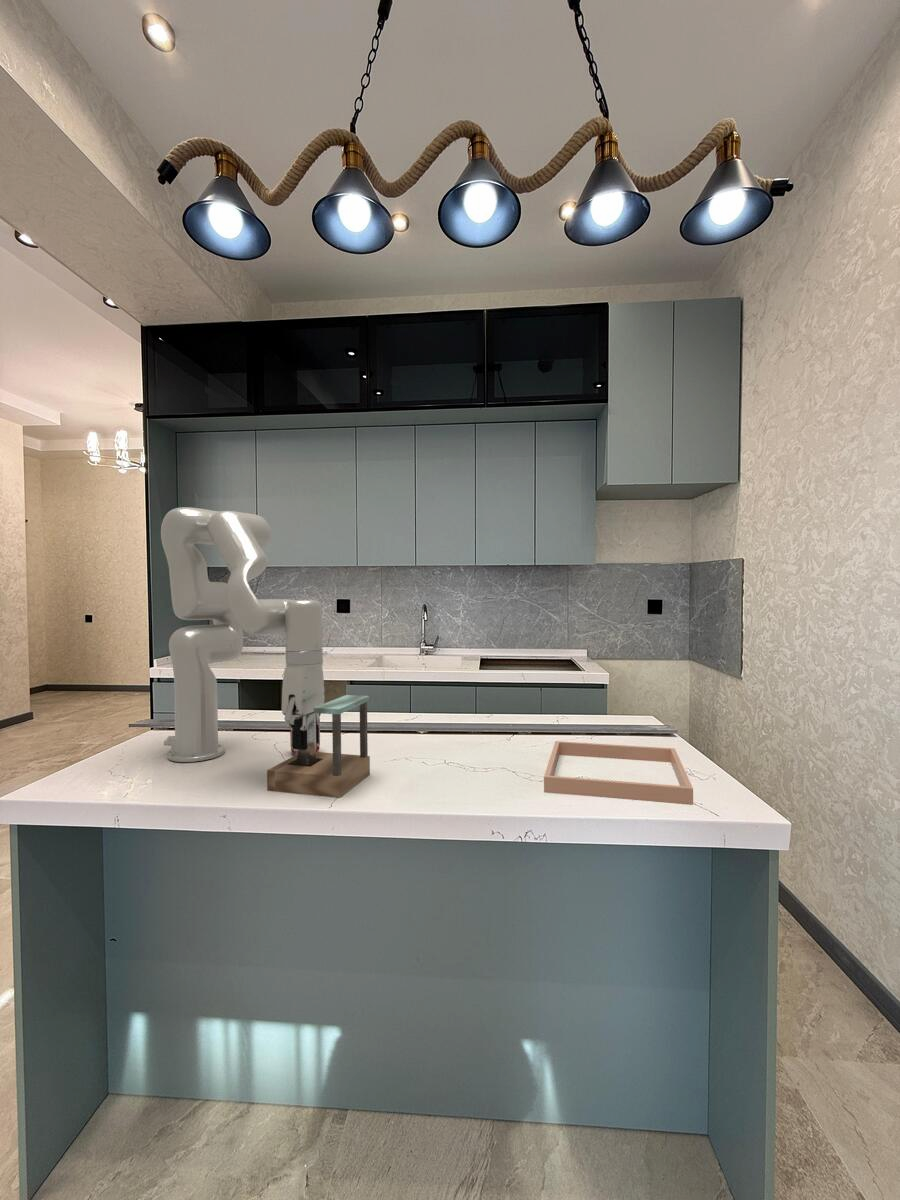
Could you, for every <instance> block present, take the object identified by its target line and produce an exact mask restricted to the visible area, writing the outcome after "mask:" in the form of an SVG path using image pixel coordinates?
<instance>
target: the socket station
mask: <svg viewBox="0 0 900 1200" xmlns="http://www.w3.org/2000/svg"><path fill="white" fill-rule="evenodd" d="M369 701H370V696H369V695H358V694H357V695H353V694H352V695H351V694H345V695H342V696H340V697H338V698H335V699H332V700H329V701H328V702H324V704H322V705H320V706H317V707H315V708H314V713H321V714H325V715H326V714H327V715H331V717H332V718H331V719H332V720H331V721H332V723H331V725H332V726H331V727H332V728H331V729H332V734H331V735H332V736H331V737H332V752H321V751H317V752H316V761H315V762H313V763H309V764H299V763H297V755H295V754H294V755H293V756H291V757H290V758H287V759H286V760H284V761H282V762H280V763H278V764H277V765H275V766H273V767H271V768H268V769H267V771H266V782H267V784H266V789H267V791H270V792H271V791H272V792H279V793H282V792H283V793H288V794H289V793H291V794H299V795H301V794H302V795H311V796H319V797H320V796H321V797H331V798H332V797H333V798H342V797H343V796H345V794H347V793H348V792H350V791H351V790H352V789H353V788H354V787H356V786H357V785H358V784H359V783H361V782H362V781H363V780H364V779H366V778H367V777H369V776H370V775H371V761H370V760H371V759H370V758H371V756H370V755H368V746H369V745H368V702H369ZM358 706H359V754H347V753H342V714H343V713H346V712H348V711H350V710H352V709H354V708H356V707H358Z"/></svg>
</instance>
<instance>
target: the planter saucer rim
mask: <svg viewBox="0 0 900 1200" xmlns="http://www.w3.org/2000/svg"><path fill="white" fill-rule="evenodd" d="M560 756H571V757H583V758H585V757H586V758H597V759H598V758H601V759H613V760H616V759H617V760H631V761H642V762H643V761H646V762H656V763H657V762H659V763H670V764H671V767H672V770H673V772H674V774H675V777H676V780H677V782H678V785H674V784H661V783H660V784H659V783H650V782H649V783H647V782H637V781H635V782H634V781H621V780H611V779H597V778H585V777H573V776H570V777H569V776H559V775H555V773H556V768H557V764H558V761H559V758H560ZM543 792H544V793H551V794H562V795H575V796H585V797H597V798H607V799H619V800H631V801H641V802H643V801H644V802H654V803H663V804H665V803H666V804H675V805H676V804H677V805H688V806H694V787H693V785H692V782H691V780H690V779H689V776H688V775H687V772H686V771H685V768H684V765H683V764H682V761H681V760H680V757H679V755H678V752H677V750H676V748H674V747H672V748H671V747H656V746H655V747H654V746H640V745H626V744H610V743H607V744H606V743H593V742H592V743H591V742H577V741H564V740H563V741H562V740H561V741H559V740H555V741H554V745H553V748H552V751H551V754H550V756H549V759H548V763H547V766H546V769H545V772H544V776H543Z"/></svg>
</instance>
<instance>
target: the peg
mask: <svg viewBox="0 0 900 1200" xmlns="http://www.w3.org/2000/svg"><path fill="white" fill-rule="evenodd" d="M296 714H298V715H299V713H296ZM296 719H298V720H299V721H300V722H301V718H296ZM305 730H307V745H308V748H307V749H306V750H298V749H296V750H297V763H299V764H309V763H313V762H315V761H316V713H314V712H312V713H310V714H307V715H306V725H305Z"/></svg>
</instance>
